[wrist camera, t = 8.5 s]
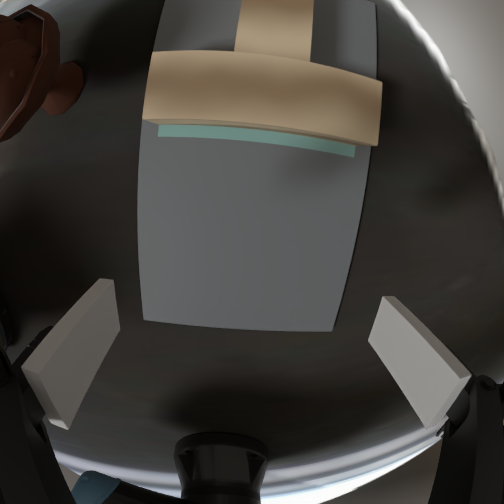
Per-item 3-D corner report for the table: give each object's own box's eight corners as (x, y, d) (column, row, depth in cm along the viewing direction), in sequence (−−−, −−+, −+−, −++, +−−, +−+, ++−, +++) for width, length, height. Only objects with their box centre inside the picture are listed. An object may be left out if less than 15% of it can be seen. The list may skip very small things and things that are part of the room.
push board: (330, 329, 27) (332, 331, 27) (144, 317, 25) (143, 319, 25) (373, 5, 15) (375, 3, 15) (173, -23, 14) (172, -25, 13)
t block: (354, 146, 20) (377, 145, 17) (158, 124, 19) (142, 119, 15) (361, 5, 15) (379, -13, 12) (186, -20, 14) (179, -43, 10)
